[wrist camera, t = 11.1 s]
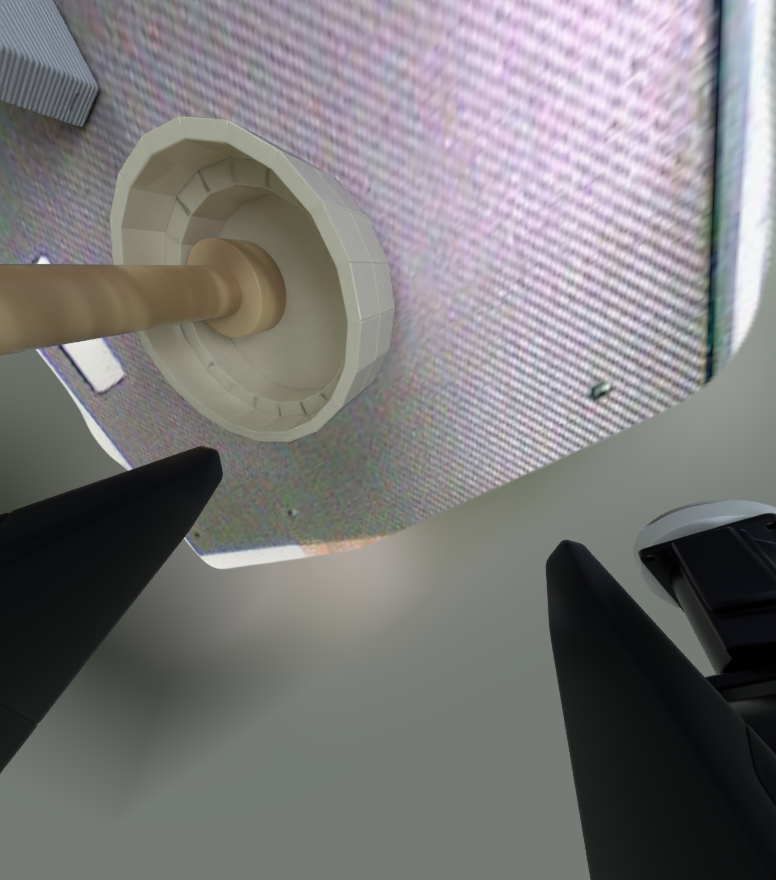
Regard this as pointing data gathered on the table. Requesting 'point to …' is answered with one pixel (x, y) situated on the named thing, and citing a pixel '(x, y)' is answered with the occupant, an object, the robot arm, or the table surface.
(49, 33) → the padlock
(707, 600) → the robot arm
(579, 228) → the table surface
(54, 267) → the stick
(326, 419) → the bowl
